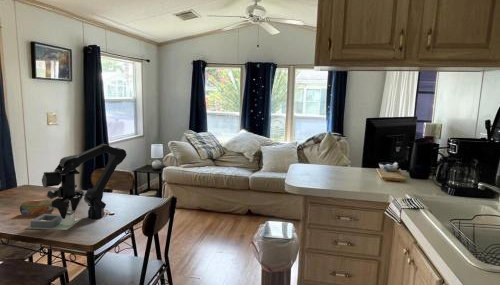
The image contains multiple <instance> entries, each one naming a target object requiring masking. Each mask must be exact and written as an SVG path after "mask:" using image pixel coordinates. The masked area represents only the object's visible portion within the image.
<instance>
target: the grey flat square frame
mask: <svg viewBox="0 0 500 285" xmlns="http://www.w3.org/2000/svg"><path fill="white" fill-rule="evenodd" d="M61 222H62V217H61V214H60V213H59V214H55V213H51V214H42V215H38V216H37V217H35V218H34V219H32V220H30V226H31V227H32V228H54V227H56V226H57V225H58V224H60V223H61ZM32 228H31V229H32Z"/></svg>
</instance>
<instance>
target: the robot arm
mask: <svg viewBox="0 0 500 285" xmlns="http://www.w3.org/2000/svg"><path fill="white" fill-rule="evenodd" d="M105 153H106V154H108V162H107V164H106V165H105V167H104V169H103V170H102V173H101V175H100V176H99V178H98V180H96V184H95V185H94V186H93V187H92V188H89V187H88V188H87V191H86V192H84V190H83V189H76V188H77V187H78V185H77V184H76V175H79V174H80V173H81V172H80V171H78V170H77V168H79V167H80V166H81V165H82V164H83V163H85V162H87V161H90V160H92V159H94V158H96V157H98V156H101V155H102V154H105ZM127 155H128V154H127V151H126V150H125V149H123V148H119V147H112V146H110V145H109V144H106V143H100V144H99V145H97V146H95V147H93V148H90V149H88V150H85V151H84V152H83V151H82V152H81V153H78V154H74V155H69V156H64V157H62V158H61V159H60V160H59V164H58V165H57V166H56V167H55V169H53V171H49V172H48V171H45V172H43V175H42V178H41V185H42V187H43V188H49V187H58V186H59V185H60V186H59V187H58V188H57V189H55V190H53V189H52V190H48V191H47V194H46V197H47V198H48V199H49V200H51V201H52V202H51V206H52V207H54V209H57V210H58V212H59V214H61V217H62V219H65V217H66V214H67V211H68V210H69V207H70V206H71V210H73V211H75V212H76V211H77V208H78V207H79V204H80V202H81V201H82V199H83V200H84V202H85V204H87V206H88V210H87V218H88V219H91V220H100V219H103V218H104V216H105V208H106V206H107V204H106V203H105V202H104V201H103V197H104V190H105V188H106V187H107V185H108V183H109V181H110V179H111V177H112V176H113V174H114V173H115V170H117V167H118V166H119V165H120V164H121V163H122V162H123V161H125V159H126V158H127ZM83 197H84V198H83ZM53 199H54V200H53Z"/></svg>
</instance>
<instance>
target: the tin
mask: <svg viewBox="0 0 500 285" xmlns="http://www.w3.org/2000/svg"><path fill="white" fill-rule="evenodd" d="M52 201H53V200H51V199H31V200H26V201H24V202H22V203H21V205H20V206H19V213H20V214H21V216H23V217H26V216H41V215H42V214H53V212H54V211H55V208H54V207H52V206H51V202H52Z"/></svg>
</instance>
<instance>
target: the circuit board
mask: <svg viewBox="0 0 500 285" xmlns="http://www.w3.org/2000/svg"><path fill="white" fill-rule="evenodd" d="M81 220H82V218H75V223H73V224H72V225H62V222H61V223H60V224H58V225H57V226H56V227H54V228H32V227H31V225H30V226H28V227H27V229H38V230H59V231H60V230H62V231H63V230H65V231H67V230H69V229H70V228H72V227H73V226H74V225H76V224H77V223H78V222H80V221H81Z"/></svg>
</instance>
